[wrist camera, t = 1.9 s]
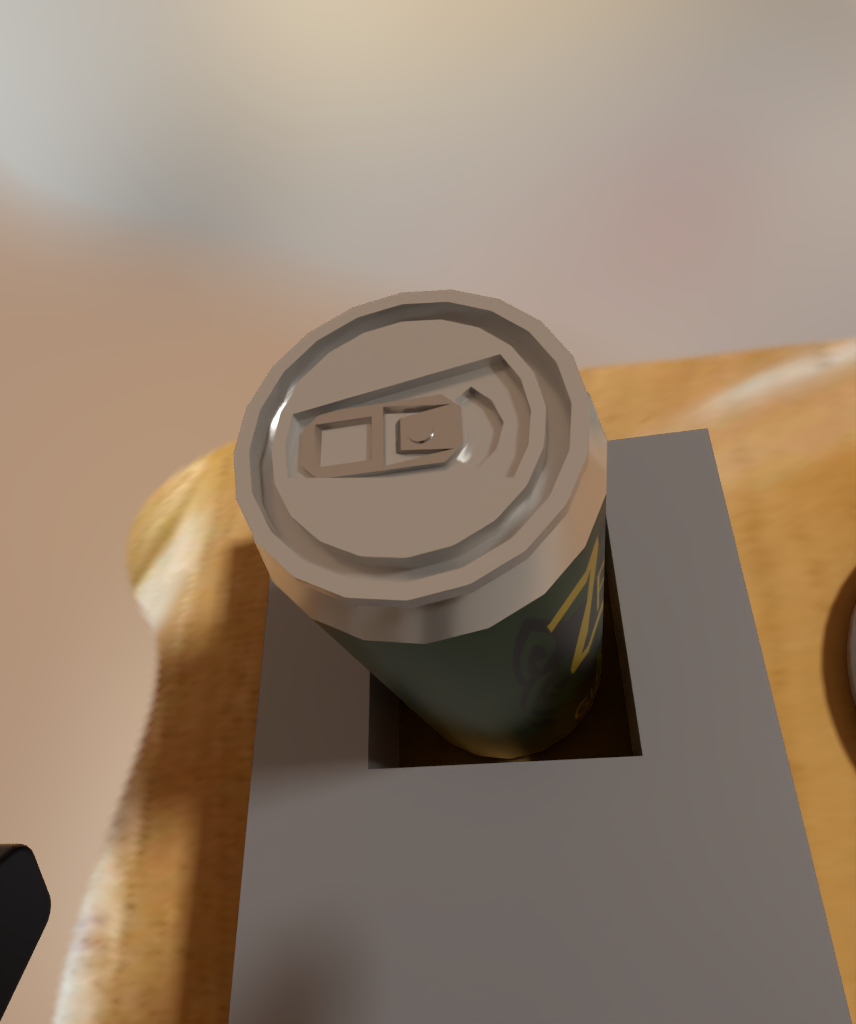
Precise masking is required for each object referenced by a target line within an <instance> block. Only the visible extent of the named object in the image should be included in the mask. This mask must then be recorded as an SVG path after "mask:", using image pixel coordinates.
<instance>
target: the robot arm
mask: <svg viewBox="0 0 856 1024" xmlns="http://www.w3.org/2000/svg"><path fill="white" fill-rule="evenodd" d="M50 909H51V899H50V895H49V892H48V890H47V887H46V885H45V882H44V879H43V877H42V874H41V872H40V869H39V867H38V864H37V861H36V859H35V856H34V854H33V852H32V850H31V849H30V848H29V847H28V846H26V845H23V844H0V1021H1V1018H2V1016H3V1014H4V1012H5V1010H6V1008H7V1006H8V1004H9V1002H10V1000H11V998H12V995H13V993H14V991H15V989H16V987H17V985H18V983H19V981H20V979H21V977H22V974H23V972H24V970H25V968H26V966H27V964H28V962H29V960H30V958H31V956H32V953H33V951H34V949H35V947H36V945H37V943H38V941H39V939H40V937H41V935H42V932H43V930H44V928H45V926H46V924H47V922H48V919H49V915H50Z"/></svg>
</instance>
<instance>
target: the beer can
mask: <svg viewBox="0 0 856 1024" xmlns="http://www.w3.org/2000/svg"><path fill="white" fill-rule="evenodd" d="M234 469H235V486H236V500H237V502H238V504H239V506H240V508H241V511H242V513H243V515H244V517H245V519H246V521H247V523H248V526H249V528H250V530H251V532H252V538H253V540H254V542H255V544H256V546H257V549H258V551H259V553H260V555H261V557H262V559H263V561H264V564H265V566H266V568H267V570H268V572H269V574H270V577H271V579H272V581H273V582H274V583H275V584H276V585H277V586H278V587H279V588H280V589H281V590H282V591H283V592H284V593H285V594H286V595H287V596H288V597H289V598H290V599H291V600H293V601H294V602H295V603H296V604H297V605H298V606H299V607H300V608H301V609H302V610H303V611H304V612H305V613H306V614H307V615H308V616H309V617H310V618H311V619H313V620H314V621H315V622H316V623H317V624H318V625H319V626H320V627H321V628H323V629H324V630H325V631H326V632H327V633H328V634H329V635H330V636H331V637H332V638H334V639H335V640H336V641H337V642H338V643H339V644H340V645H341V646H342V647H343V648H345V649H346V650H347V651H348V652H349V653H350V654H351V655H352V656H353V657H354V658H356V659H357V660H358V661H359V662H360V663H361V664H362V665H363V666H364V667H365V668H367V669H368V670H369V671H370V672H371V673H372V674H373V675H374V676H375V677H377V678H378V679H379V680H380V681H381V682H382V683H383V684H384V685H385V686H386V687H388V688H389V689H390V690H391V691H392V692H393V693H394V694H395V695H396V696H397V697H399V698H400V699H401V700H402V701H403V702H404V703H405V704H406V705H407V706H408V707H410V708H411V709H412V710H413V711H414V712H415V713H416V714H417V715H418V716H420V717H421V718H422V719H423V720H424V721H425V722H426V723H427V724H428V725H429V726H431V727H432V728H433V729H434V730H435V731H436V732H437V733H438V734H439V735H440V736H442V737H443V738H444V739H445V740H446V741H447V742H448V743H450V744H453V745H455V746H457V747H459V748H461V749H464V750H466V751H468V752H470V753H472V754H474V755H477V756H485V757H495V758H504V759H512V758H516V757H521V756H525V755H529V754H533V753H538V752H542V751H544V750H545V749H547V748H548V747H550V746H551V745H553V744H555V743H556V742H558V741H559V740H561V739H563V738H564V737H566V736H567V735H569V734H570V733H571V732H572V731H573V729H574V728H575V727H576V726H577V724H578V723H579V722H580V721H581V719H582V718H583V717H584V716H585V715H586V713H587V712H588V711H589V710H590V708H591V705H592V702H593V700H594V697H595V694H596V691H597V689H598V686H599V683H600V680H601V667H602V632H603V596H604V560H605V525H606V485H607V439H606V436H605V433H604V431H603V428H602V426H601V423H600V420H599V418H598V415H597V412H596V410H595V407H594V405H593V402H592V399H591V397H590V394H589V393H588V392H587V391H586V389H585V386H584V384H583V381H582V378H581V376H580V373H579V371H578V368H577V365H576V363H575V360H574V358H573V355H571V353H570V352H569V351H568V350H567V349H566V348H565V347H564V346H563V345H562V343H561V342H560V341H559V340H558V339H557V338H556V337H555V336H554V335H553V334H552V333H551V332H550V330H549V329H548V328H547V327H545V325H544V324H543V323H542V322H541V321H539V320H537V319H536V318H534V317H532V316H530V315H528V314H526V313H524V312H522V311H521V310H519V309H517V308H515V307H513V306H511V305H509V304H507V303H505V302H504V301H501V300H500V299H496V298H491V297H486V296H480V295H475V294H470V293H465V292H460V291H455V290H439V291H423V292H408V293H407V292H406V293H399V294H396V295H393V296H389V297H386V298H382V299H379V300H376V301H373V302H369V303H366V304H363V305H360V306H356V307H353V308H351V309H349V310H348V311H346V312H344V313H342V314H341V315H339V316H337V317H335V318H334V319H332V320H330V321H328V322H327V323H325V324H323V325H321V326H320V327H318V328H316V329H314V330H313V331H311V332H309V333H308V334H307V335H306V336H305V337H304V338H303V339H302V340H301V341H299V342H298V343H297V344H296V345H295V346H294V347H293V348H292V349H291V350H290V351H289V352H288V353H287V354H285V355H284V356H283V358H281V359H280V360H279V361H278V362H277V363H276V364H275V365H274V366H273V367H272V368H271V370H270V371H269V373H268V374H267V376H266V378H265V379H264V381H263V382H262V384H261V386H260V387H259V389H258V390H257V392H256V394H255V395H254V397H253V398H252V400H251V401H250V403H249V404H248V406H247V408H246V411H245V414H244V418H243V422H242V425H241V429H240V432H239V436H238V439H237V443H236V446H235V450H234Z"/></svg>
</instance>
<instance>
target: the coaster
mask: <svg viewBox="0 0 856 1024" xmlns="http://www.w3.org/2000/svg"><path fill="white" fill-rule="evenodd" d="M847 670H848V676H849V682H850V688H851V694H852V697H853V701H854V704H855V707H856V602H855V605H854V609H853V612H852V615H851V618H850V623H849V630H848V638H847Z"/></svg>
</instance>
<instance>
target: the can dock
mask: <svg viewBox="0 0 856 1024" xmlns="http://www.w3.org/2000/svg"><path fill="white" fill-rule="evenodd" d="M605 565H606V572H607V579H608V586H609V593H610V600H611V606H612V613H613V620H614V627H615V634H616V641H617V648H618V654H619V661H620V668H621V675H622V682H623V689H624V695H625V702H626V709H627V716H628V723H629V730H630V736H631V743H632V750H633V756H631V757H611V758H591V759H570V760H550V761H529V762H509V763H489V764H468V765H448V766H427V767H407V768H399V697H397V696H396V695H395V694H394V693H393V692H392V691H391V690H390V689H389V688H388V687H386V686H385V685H384V684H383V683H382V682H381V681H380V680H379V679H378V678H377V677H375V676H374V675H373V674H372V673H371V672H370V671H369V670H368V669H367V668H365V667H364V666H363V665H362V664H361V663H360V662H359V661H358V660H357V659H356V658H354V657H353V656H352V655H351V654H350V653H349V652H348V651H347V650H346V649H345V648H343V647H342V646H341V645H340V644H339V643H338V642H337V641H336V640H335V639H334V638H332V637H331V636H330V635H329V634H328V633H327V632H326V631H325V630H324V629H323V628H321V627H320V626H319V625H318V624H317V623H316V622H315V621H314V620H313V619H311V618H310V617H309V616H308V615H307V614H306V613H305V612H304V611H303V610H302V609H301V608H300V607H299V606H298V605H297V604H296V603H295V602H294V601H293V600H291V599H290V598H289V597H288V596H287V595H286V594H285V593H284V592H283V591H282V590H281V589H280V588H279V587H278V586H277V585H276V584H275V583H274V582H273V581H272V579H271V577H270V580H269V591H268V601H267V612H266V623H265V634H264V645H263V655H262V666H261V677H260V688H259V698H258V709H257V720H256V731H255V741H254V752H253V763H252V774H251V785H250V795H249V806H248V817H247V828H246V838H245V849H244V860H243V871H242V881H241V892H240V903H239V914H238V924H237V935H236V946H235V957H234V968H233V978H232V989H231V1000H230V1011H229V1021H228V1024H852V1022H851V1017H850V1013H849V1009H848V1005H847V1001H846V997H845V993H844V989H843V984H842V980H841V976H840V972H839V968H838V964H837V960H836V956H835V952H834V947H833V943H832V939H831V935H830V931H829V927H828V923H827V919H826V914H825V910H824V906H823V902H822V898H821V894H820V890H819V886H818V881H817V877H816V873H815V869H814V865H813V861H812V857H811V853H810V849H809V844H808V840H807V836H806V832H805V828H804V824H803V820H802V816H801V811H800V807H799V803H798V799H797V795H796V791H795V787H794V783H793V779H792V774H791V770H790V766H789V762H788V758H787V754H786V750H785V746H784V741H783V737H782V733H781V729H780V725H779V721H778V717H777V713H776V709H775V704H774V700H773V696H772V692H771V688H770V684H769V680H768V676H767V671H766V667H765V663H764V659H763V655H762V651H761V647H760V643H759V639H758V634H757V630H756V626H755V622H754V618H753V614H752V610H751V606H750V601H749V597H748V593H747V589H746V585H745V581H744V577H743V573H742V568H741V564H740V560H739V556H738V552H737V548H736V544H735V540H734V536H733V531H732V527H731V523H730V519H729V515H728V511H727V507H726V503H725V498H724V494H723V490H722V486H721V482H720V478H719V474H718V470H717V466H716V461H715V457H714V453H713V449H712V445H711V441H710V437H709V433H708V428H706V429H698V430H690V431H682V432H674V433H666V434H658V435H650V436H643V437H635V438H627V439H619V440H611V441H607V485H606V525H605Z"/></svg>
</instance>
